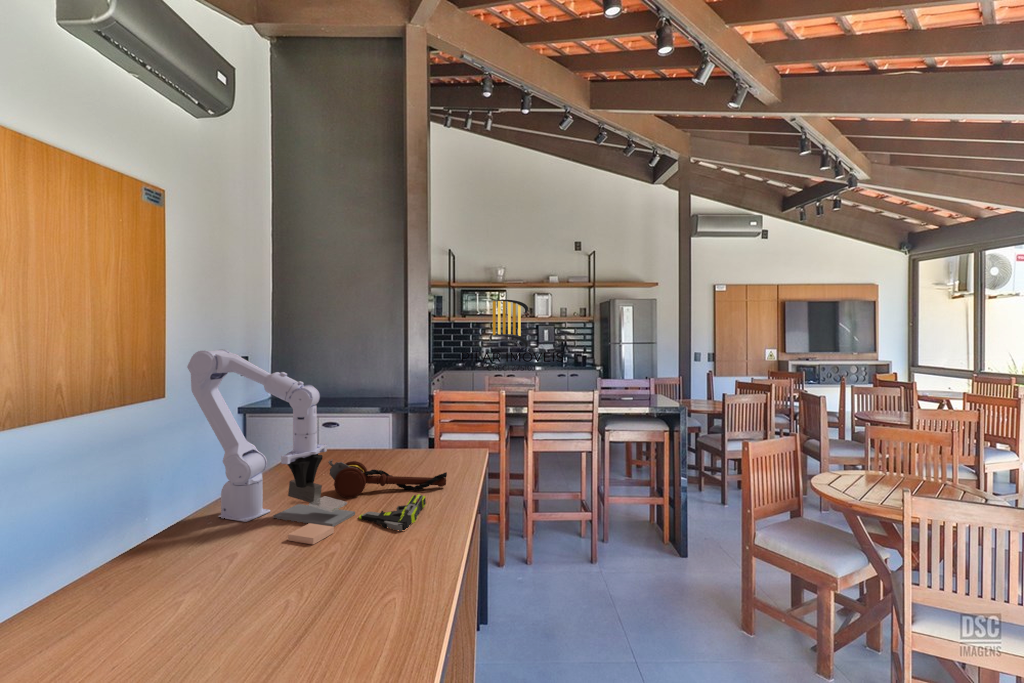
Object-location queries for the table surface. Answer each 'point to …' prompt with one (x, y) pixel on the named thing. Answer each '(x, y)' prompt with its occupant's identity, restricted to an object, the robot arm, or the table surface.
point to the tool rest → (314, 515)
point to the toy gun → (398, 514)
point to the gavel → (374, 479)
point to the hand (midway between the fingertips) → (305, 485)
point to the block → (310, 533)
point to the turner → (314, 496)
